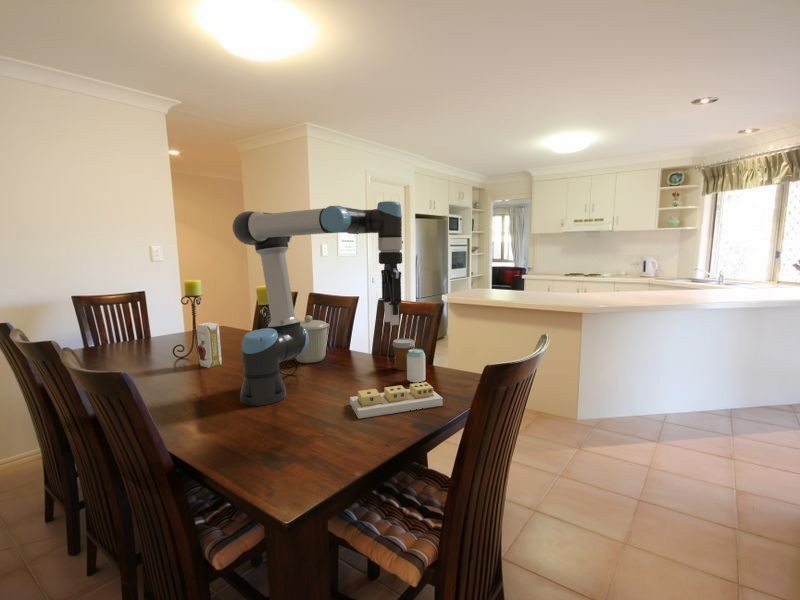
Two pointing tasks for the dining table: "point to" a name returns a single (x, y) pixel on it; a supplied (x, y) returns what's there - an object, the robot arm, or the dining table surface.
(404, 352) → the disposable coffee cup
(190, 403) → the dining table surface
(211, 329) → the juice carton
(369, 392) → the one pip key
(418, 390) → the three pip key
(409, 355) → the can
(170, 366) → the dining table surface
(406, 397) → the two pip key
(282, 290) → the robot arm
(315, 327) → the canister
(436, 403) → the keypad base
